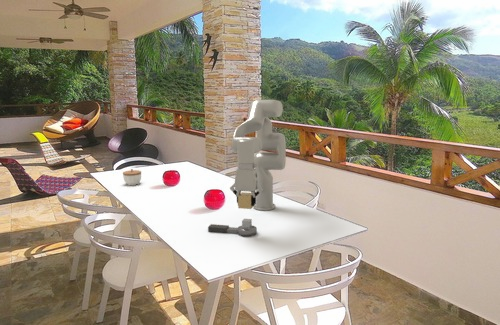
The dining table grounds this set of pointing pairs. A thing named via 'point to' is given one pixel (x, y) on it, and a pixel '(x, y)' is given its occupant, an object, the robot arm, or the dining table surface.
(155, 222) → the dining table surface
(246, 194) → the brushed gold cube
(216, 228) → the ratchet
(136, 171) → the lidded bowl
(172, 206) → the dining table surface
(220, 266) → the dining table surface
